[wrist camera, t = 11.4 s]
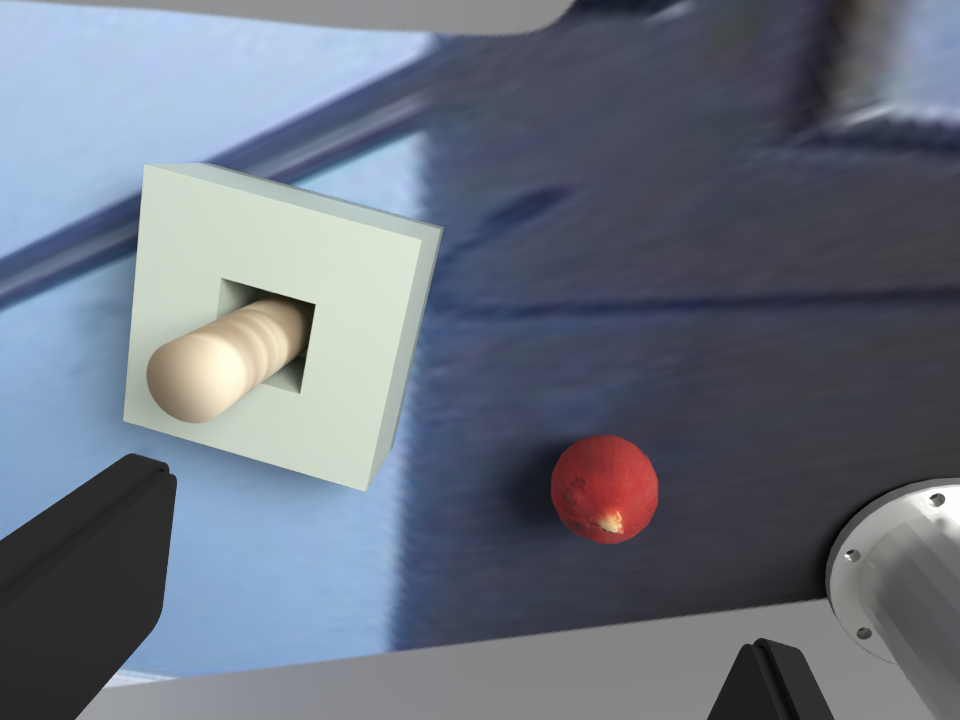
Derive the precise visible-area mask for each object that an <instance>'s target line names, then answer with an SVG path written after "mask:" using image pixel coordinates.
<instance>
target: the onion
mask: <svg viewBox="0 0 960 720" xmlns="http://www.w3.org/2000/svg"><path fill="white" fill-rule="evenodd" d="M551 498H552V501H553V504H554V506H555V508H556V510H557V512H558V515H559V517H560V519H561V521H562V522H563V523H564V525H565V526H567V527H568V528H569V529H571V530H572V531H574V532H575V533H576V534H578V535H579V536H581V537H584V538H587V539H590V540H593V541H595V542H598V543H601V544H605V543H619V542H622V541H624V540H627V539H630V538H632V537H634V536H635V535H636V534H637V533H638V532H640V531H641V530H642V529H643V528H645V527H646V526H647V525H648V524H649V522H650V520H651V518H652V516H653V514H654V511H655V509H656V507H657V505H658V479H657V476H656V474H655V472H654V469H653V467H652V465H651V462H650V461H649V459H648V458H647V456H646V455H645V454H644V453H642V452H641V451H640V450H639V449H638V448H637V447H636V446H635V445H634V444H633V443H631V442H629V441H626V440H624V439H622V438H620V437H617V436H615V435H593V436H590V437H587V438H584V439H581V440H578V441H576V442H575V443H574V444H572V445H571V446H570V447H569V448H567V449H566V450H565V451H564V452H563V453H562V455H561V457H560V458H559V460H558V462H557V464H556V466H555V468H554V470H553V473H552V480H551Z"/></svg>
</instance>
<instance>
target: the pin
mask: <svg viewBox="0 0 960 720" xmlns="http://www.w3.org/2000/svg"><path fill="white" fill-rule="evenodd" d="M315 307H316V304H313V303H310V302H306V301H302V300H299V299H295V298H292V297H288V296H285V295H281V294H278V293H273V294H271V295H268V296H266V297H264V298H262V299H260V300H258V301H256V302H254V303H251V304H249V305H247V306H245V307H243V308H241V309H239V310H236V311H234V312H232V313H230V314H228V315H226V316H224V317H222V318H219V319H217V320H215V321H213V322H211V323H209V324H207V325H204V326H202V327H200V328H198V329H196V330H194V331H192V332H190V333H187V334H185V335H183V336H181V337H179V338H177V339H175V340H172V341H170V342H168V343H166V344H164V345H162V346H161V347H159V348H158V349H157V350H156V351H155V352H154V353H153V355H152V356H151V358H150V360H149V362H148V365H147V371H146V378H147V384H148V388H149V391H150V393H151V395H152V397H153V399H154V400H155V402H156V403H157V404H158V405H159V407H160V408H161V409H162V410H163V411H165V412H166V413H167V414H168V415H170V416H172V417H173V418H175V419H177V420H180V421H183V422H187V423H204V422H207V421H210V420H212V419H214V418H215V417H217V416H218V415H219V414H221V413H222V412H223V411H225V410H226V409H227V408H229V407H230V406H231V405H233V404H234V403H235V402H237V401H238V400H239V399H241V398H242V397H243V396H245V395H246V394H247V393H249V392H250V391H251V390H253V389H254V388H255V387H257V386H258V385H260V384H261V383H262V382H264V381H265V380H266V379H268V378H269V377H270V376H272V375H273V374H274V373H276V372H277V371H278V370H280V369H281V368H282V367H284V366H285V365H286V364H288V363H289V362H290V361H292V360H293V359H294V358H296V357H297V356H298V355H300V354H301V353H302V352H304V351H305V350H306V349H308V347H309V341H310V335H311V329H312V324H313V318H314V312H315Z"/></svg>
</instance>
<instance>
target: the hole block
mask: <svg viewBox="0 0 960 720" xmlns="http://www.w3.org/2000/svg"><path fill="white" fill-rule="evenodd" d="M443 229H444V227H441V226H437V225H433V224H430V223H426V222H422V221H419V220H415V219H411V218H408V217H404V216H401V215H397V214H393V213H390V212H386V211H382V210H379V209H375V208H371V207H368V206H364V205H360V204H357V203H353V202H349V201H346V200H342V199H338V198H335V197H331V196H327V195H324V194H320V193H316V192H313V191H309V190H305V189H302V188H298V187H294V186H291V185H287V184H284V183H280V182H276V181H273V180H269V179H265V178H262V177H258V176H254V175H251V174H247V173H243V172H240V171H236V170H232V169H229V168H225V167H221V166H218V165H214V164H210V163H172V164H144V174H143V186H142V199H141V211H140V223H139V235H138V247H137V259H136V271H135V283H134V295H133V307H132V320H131V332H130V344H129V356H128V368H127V380H126V392H125V404H124V416H123V421H125V422H128V423H132V424H135V425H139V426H142V427H146V428H149V429H152V430H156V431H159V432H163V433H166V434H170V435H173V436H176V437H180V438H183V439H187V440H190V441H194V442H197V443H200V444H204V445H207V446H211V447H214V448H218V449H221V450H224V451H228V452H231V453H235V454H238V455H242V456H245V457H248V458H252V459H255V460H259V461H262V462H266V463H269V464H272V465H276V466H279V467H283V468H286V469H290V470H293V471H296V472H300V473H303V474H307V475H310V476H314V477H317V478H320V479H324V480H327V481H331V482H334V483H338V484H341V485H344V486H348V487H351V488H355V489H358V490H362V491H365V492H366V491H367V489H368V487H369V486H370V484H371V482H372V481H373V479H374V477H375V475H376V474H377V472H378V470H379V469H380V467H381V465H382V464H383V462H384V460H385V459H386V457H387V455H388V454H389V452H390V450H391V448H392V447H393V444H394V440H395V436H396V431H397V427H398V423H399V418H400V414H401V410H402V406H403V401H404V397H405V393H406V388H407V384H408V380H409V375H410V371H411V367H412V362H413V358H414V354H415V349H416V345H417V341H418V337H419V332H420V328H421V324H422V319H423V315H424V311H425V306H426V302H427V298H428V293H429V289H430V285H431V280H432V276H433V272H434V268H435V263H436V259H437V255H438V250H439V246H440V242H441V237H442V233H443ZM273 293H278V294H281V295H285V296H288V297H292V298H295V299H299V300H302V301H306V302H310V303H313V304H316V307H315V312H314V318H313V324H312V329H311V335H310V341H309V347H308V349H306V350H305V351H304V352H302V353H301V354H300V355H298V356H297V357H296V358H294V359H293V360H292V361H290V362H289V363H288V364H286V365H285V366H284V367H282V368H281V369H280V370H278V371H277V372H276V373H274V374H273V375H272V376H270V377H269V378H268V379H266V380H265V381H264V382H262V383H261V384H260V385H258V386H257V387H255V388H254V389H253V390H251V391H250V392H249V393H247V394H246V395H245V396H243V397H242V398H241V399H239V400H238V401H237V402H235V403H234V404H233V405H231V406H230V407H229V408H227V409H226V410H225V411H223V412H222V413H221V414H219V415H218V416H217V417H215V418H214V419H212V420H210V421H207V422H204V423H187V422H183V421H180V420H177V419H175V418H173V417H172V416H170V415H168V414H167V413H166V412H165V411H163V410H162V409H161V408H160V407H159V405H158V404H157V403H156V402H155V400H154V399H153V397H152V395H151V393H150V391H149V388H148V384H147V378H146V371H147V365H148V362H149V360H150V358H151V356H152V355H153V353H154V352H155V351H156V350H157V349H158V348H159V347H161V346H162V345H164V344H166V343H168V342H170V341H172V340H175V339H177V338H179V337H181V336H183V335H185V334H187V333H190V332H192V331H194V330H196V329H198V328H200V327H202V326H204V325H207V324H209V323H211V322H213V321H215V320H217V319H219V318H222V317H224V316H226V315H228V314H230V313H232V312H234V311H236V310H239V309H241V308H243V307H245V306H247V305H249V304H251V303H254V302H256V301H258V300H260V299H262V298H264V297H266V296H268V295H271V294H273Z"/></svg>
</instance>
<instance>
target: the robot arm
mask: <svg viewBox="0 0 960 720" xmlns="http://www.w3.org/2000/svg"><path fill="white" fill-rule="evenodd" d="M176 487H177V479H176V476H175V475H173V474H169V467H168V465H167V464H166V463H165V462H161V461H158V460H154V459H151V458H147V457H144V456H141V455H137V454H128V455H126V456H124V457H123V458H121V459H120V460H118V461H117V462H115V463H114V464H112V465H111V466H109V467H108V468H106V469H105V470H103V471H102V472H101V473H99V474H98V475H96V476H95V477H93V478H92V479H90V480H89V481H87V482H86V483H84V484H83V485H81V486H80V487H78V488H77V489H76V490H74V491H73V492H71V493H70V494H68V495H67V496H65V497H64V498H62V499H61V500H59V501H58V502H56V503H55V504H53V505H52V506H51V507H49V508H48V509H46V510H45V511H43V512H42V513H40V514H39V515H37V516H36V517H34V518H33V519H31V520H30V521H29V522H27V523H26V524H24V525H23V526H21V527H20V528H18V529H17V530H15V531H14V532H12V533H11V534H9V535H8V536H6V537H5V538H4V539H2V540H1V541H0V720H75V719H76V718H77V717H78V716H79V714H80V713H81V712H82V711H83V710H84V708H85V707H86V706H87V705H88V704H89V703H90V702H91V701H92V699H93V698H94V697H95V696H96V695H97V694H98V693H99V691H100V690H101V689H102V688H103V687H104V686H105V684H106V683H107V682H108V681H109V680H110V679H111V678H112V676H113V675H114V674H115V673H116V672H117V671H118V670H119V668H120V667H121V666H122V665H123V664H124V663H125V661H126V660H127V659H128V658H129V657H130V656H131V655H132V653H133V652H134V651H135V650H136V649H137V648H138V647H139V645H140V644H141V643H142V642H143V641H144V640H145V638H146V637H147V636H148V635H149V634H150V633H151V631H152V630H153V629H154V627H155V625H156V624H157V622H158V620H159V618H160V615H161V612H162V607H163V600H164V591H165V582H166V574H167V565H168V556H169V548H170V539H171V530H172V522H173V513H174V504H175V496H176ZM825 586H826V592H827V598H828V601H829V603H830V605H831V608H832V610H833V612H834V614H835V616H836V617H837V619H838V621H839V622H840V624H841V626H842V627H843V629H844V630H845V632H846V633H847V634H848V635H849V636H850V638H851V639H852V640H853V641H854V642H855V643H857V644H858V645H859V646H861V647H862V648H864V649H865V650H866V651H868V652H869V653H870V654H873V655H874V656H877V657H879V658H881V659H883V660H885V661H887V662H890V663H894V664H897V665H899V666H900V668H901V669H902V671H903V672H904V674H905V675H906V677H907V679H908V680H909V681H910V683H911V685H912V686H913V688H914V689H915V690H916V692H917V694H918V695H919V697H920V698H921V700H922V701H923V703H924V704H925V706H926V707H927V709H928V710H929V712H930V713H931V715H932V716H933V718H934V719H935V720H960V478H944V479H931V480H927V481H922V482H917V483H913V484H909V485H906V486H904V487H901V488H899V489H896V490H893V491H891V492H888V493H887V494H885V495H883V496H881V497H880V498H878V499H876V500H874V501H873V502H871V503H870V504H868V505H867V506H866V507H865V508H863V509H862V510H861V511H860V512H858V513H857V514H856V515H855V516H854V517H853V518H852V519H851V520H850V521H849V522H848V524H847V525H846V526H845V527H844V528H843V529H842V531H841V532H840V534H839V536H838V537H837V539H836V541H835V543H834V544H833V546H832V548H831V551H830V554H829V557H828V561H827V564H826V573H825ZM707 720H834V717H833V715H832V714H831V711H830V709H829V707H828V705H827V703H826V701H825V699H824V697H823V695H822V693H821V690H820V688H819V686H818V684H817V682H816V680H815V678H814V676H813V674H812V672H811V670H810V668H809V666H808V663H807V661H806V659H805V657H804V655H803V654H802V652H801V651H800V650H799V649H797V648H795V647H791V646H788V645H784V644H781V643H777V642H774V641H771V640H767V639H764V638H759V639H758V640H756V641H755V642H754V644H753V645H750V644H745V645H744V646H742V648H741V650H740V651H739V653H738V655H737V658H736V660H735V662H734V664H733V666H732V668H731V670H730V672H729V674H728V677H727V679H726V681H725V683H724V685H723V687H722V689H721V691H720V693H719V695H718V698H717V700H716V702H715V704H714V706H713V708H712V710H711V712H710V715H709V717H708V719H707Z"/></svg>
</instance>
